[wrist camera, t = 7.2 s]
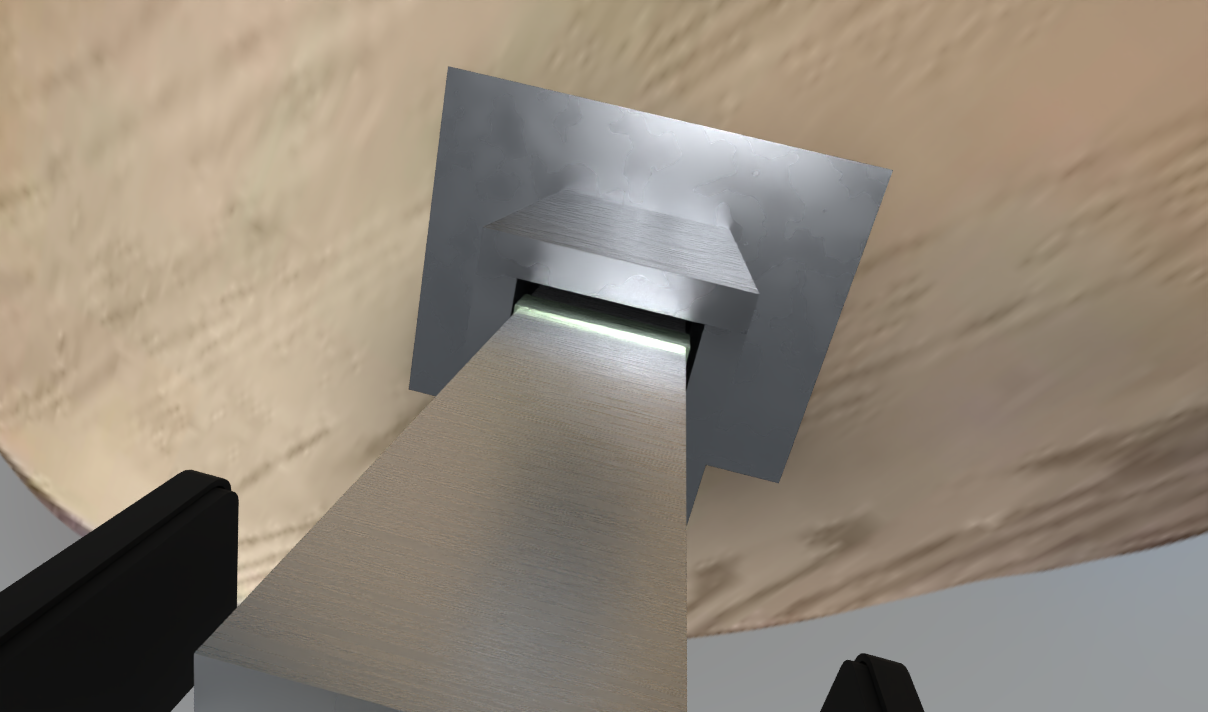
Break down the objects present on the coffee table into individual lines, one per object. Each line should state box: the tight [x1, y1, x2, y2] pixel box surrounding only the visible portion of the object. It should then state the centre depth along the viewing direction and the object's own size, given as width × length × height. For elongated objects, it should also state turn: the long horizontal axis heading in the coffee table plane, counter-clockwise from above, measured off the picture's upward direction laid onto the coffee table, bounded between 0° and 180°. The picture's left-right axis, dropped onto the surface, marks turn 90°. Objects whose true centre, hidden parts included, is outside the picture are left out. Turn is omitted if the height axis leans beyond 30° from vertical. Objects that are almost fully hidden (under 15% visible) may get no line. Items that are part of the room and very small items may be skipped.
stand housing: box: [409, 66, 893, 526], centre depth 26 cm, size 20×16×14 cm
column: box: [194, 284, 690, 712], centre depth 16 cm, size 5×5×20 cm
